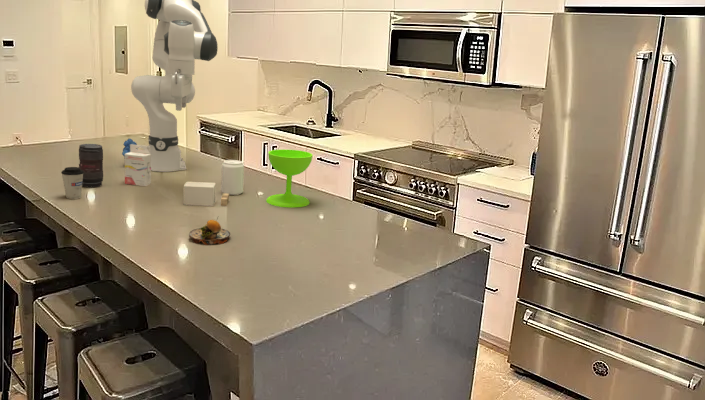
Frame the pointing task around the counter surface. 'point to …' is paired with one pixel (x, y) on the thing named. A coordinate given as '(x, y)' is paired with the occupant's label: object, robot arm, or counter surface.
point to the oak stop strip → (224, 199)
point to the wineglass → (289, 175)
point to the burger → (210, 234)
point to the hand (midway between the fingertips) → (181, 109)
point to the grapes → (127, 146)
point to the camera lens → (91, 164)
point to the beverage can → (232, 177)
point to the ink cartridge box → (138, 166)
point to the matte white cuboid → (199, 193)
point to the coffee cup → (72, 182)
